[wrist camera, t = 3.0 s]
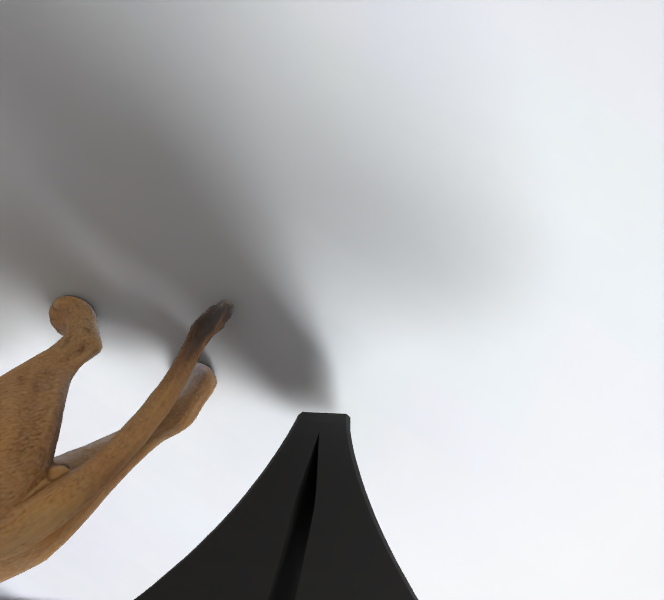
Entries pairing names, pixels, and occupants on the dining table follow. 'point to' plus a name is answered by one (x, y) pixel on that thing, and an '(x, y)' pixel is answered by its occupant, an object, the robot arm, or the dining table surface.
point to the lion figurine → (93, 459)
